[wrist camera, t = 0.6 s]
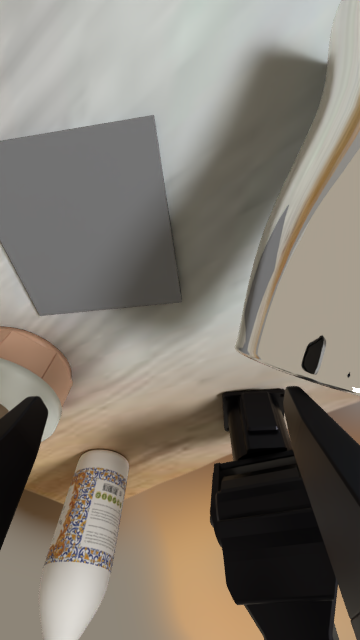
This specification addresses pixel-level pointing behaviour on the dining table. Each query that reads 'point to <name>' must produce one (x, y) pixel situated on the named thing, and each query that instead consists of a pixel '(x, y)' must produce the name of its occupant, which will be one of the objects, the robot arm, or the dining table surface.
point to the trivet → (88, 218)
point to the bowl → (37, 358)
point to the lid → (27, 393)
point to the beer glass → (315, 239)
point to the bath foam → (83, 546)
